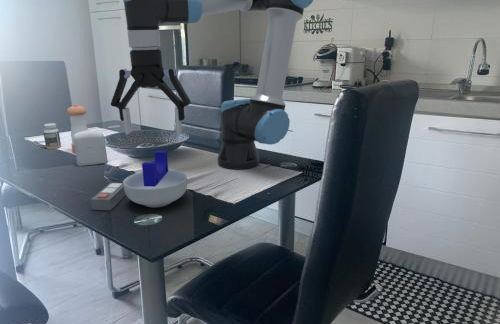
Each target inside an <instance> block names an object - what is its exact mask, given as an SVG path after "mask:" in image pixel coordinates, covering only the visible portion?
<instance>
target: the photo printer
mask: <svg viewBox="0 0 500 324" xmlns="http://www.w3.org/2000/svg"><path fill="white" fill-rule="evenodd" d="M74 145H75V151H76V153H75V157H76V163H77V166H78V167H83V166H92V165H93V166H94V165H99V164H102V165H103V164H107V163H108V162H109V161H108V153H107V147H106V146H107V145H106V140H105V135H104V134H103V131H101V130H95V129H94V130H93V129H92V130H91V129H88V130H87V131H81V132H78V133H76V134H75V135H74Z"/></svg>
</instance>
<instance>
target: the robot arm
mask: <svg viewBox="0 0 500 324" xmlns="http://www.w3.org/2000/svg"><path fill="white" fill-rule="evenodd" d="M313 2H314V0H123V5H124V14H125V20H126V29H127V39H128V40H127V41H128V47H129V48H130V49H131V50H130V52H129V55H130V56H129V57H130V66H131V70H129V69H127V68H121V69H120V70H119V73H118V74H119V75H118V76H119V77H118V78H119V79H118V82H117V85H116V88H115V90H114V93H113V95H112V99H111V102H110V106H111V107H115V108H117V109H118V112H119V113H118V114H119V118H120V121H121V122H123V124H124V126H123V127H124V131H125V132H124V133H125V135H129V134H131V133H132V132H133V129H132V128H133V127H132V119H131V111H130V107H127V105H128V104H129V102H130V101H131V100H132V98H133V97H134V95H135V94H136V92H137V91H138V89H140V87H141V88H147V87H148V88H156V87H157V88H158V89H159V90H161V91H162V92H163V93H164V94H165V95H166V96H167V98H168V99H169V100H170V101H171V102H172V103H173V105H175V106H176V107H175V108H174V119H175V130H176V132H175V133H176V134H177V135H180V134H181V133H183V130H182V122H183V120H185V118H186V115H185V107H188V106H189V105H190V104H191V103H192V101H191V100H190V98H189V96H188V94H187V92H186V90H185V89H184V87H183V85H182V83H181V82H180V79H179V78H178V76H177V72H176V68H175V67H174V68H173V67H171V68H169V69H164V67H163V54H162V50H161V49H159V48H160V47H161V45H162V44H161V37H160V36H161V34H160V26H161V25H174V24H175V25H177V24H186V25H188V24H195V23H196V24H197V23H198V22H199V21H200V19H201V18H202V17H207V16H212V15H216V14H224V13H227V12H233V11H238V10H239V11H241V12H242V13H245V12H250V11H252V12H253V11H261V12H262V11H264V12H266V14H267V16H268V24H267V29H266V35H265V41H264V47H263V52H262V58H261V63H260V69H259V75H258V79H257V85H256V90H255V94H254V95H253V96H251V97H250V98H243V99H231V100H225V101H223V102H222V103H221V108H220V115H221V117H220V119H221V145H220V148H219V152H218V156H217V165H218V166H219V167H221V168H225V169H230V170H245V169H252V168H255V167H256V166H258V165H260V155H259V152H258V150H257V146H256V143H255V142H258V143H260V144H263V145H268V146H269V145H270V146H272V145H276V144H278V143H280V141H281V140H283V139H284V138H285V137H286V135H287V134H288V131H289V130H290V129H289V128H290V121H291V120H290V118H289V113H287V112H286V110H285V109H286V105H287V104H286V103H285V102H284V100H283V95H284V91H285V90H284V89H285V85H286V80H287V79H286V78H287V75H288V68H289V64H290V63H289V62H290V58H291V52H292V49H293V42H294V37H295V32H296V27H297V22H299V21H300V20H302V19H303V15H304V10H305V9H306V8H308V7H309V6H310V5H311V4H312V3H313ZM165 75H166V77H167V78H168V79H169V80H170V83H171V84H172V86H173V87H174V89H175V92H176V93H177V94H176V93H175V92H174V91H173V90H172V89H171V88H170V87H169V85H168V84H167V83H166V81H165V80H164V77H165ZM130 76H131V78H132V79H133V80H134V81H133V82H132V83H131V85H130V88H129V89H128V90H127V92H126V93H125V95H124V96H123V98H122V95H123V93H124V90H125V88H126V85H127V82H128V80H129V78H130ZM178 96H179V97H178Z"/></svg>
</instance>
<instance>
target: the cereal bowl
mask: <svg viewBox="0 0 500 324" xmlns="http://www.w3.org/2000/svg"><path fill="white" fill-rule="evenodd" d="M122 183H123V186H124V191H125V193H126V195H125V196H127V199H129V200H130V201H131V202H133V203H135V204H138V205H142V206H145V207H147V208H163V207H165V206H168V205H170V204H172V203H173V202H175V201H177V200H178V199H180V198H181V197H182V196H184V194H185V193H186V191H187V187H188V175H187V174H186V173H185V172H183V171H181V170H176V169H170V168H168V172H167V173H166V175H165V176H164V177H163V178H162V179H161V181H160V182H159V183H158V184H157V185H156V187H155V186H144V181H143V170H141V171H139V172H135V173H132V174H130V175H128V176H127V177H125V178H124V180H123V182H122Z"/></svg>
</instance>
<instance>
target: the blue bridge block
mask: <svg viewBox="0 0 500 324" xmlns="http://www.w3.org/2000/svg"><path fill="white" fill-rule="evenodd" d="M141 168H142V169H141V171H143V181H144V186H155V187H156V185H157V184H158V183H159V182H160V181H161V179H162V178H163V177H164V176H165V175H166V173H167V172H168V169H169V163H168V151H167V150H156V151H155V152H154V160H151V161H150V162H149V161H146V162H145V161H143V162H142V163H141Z"/></svg>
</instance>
